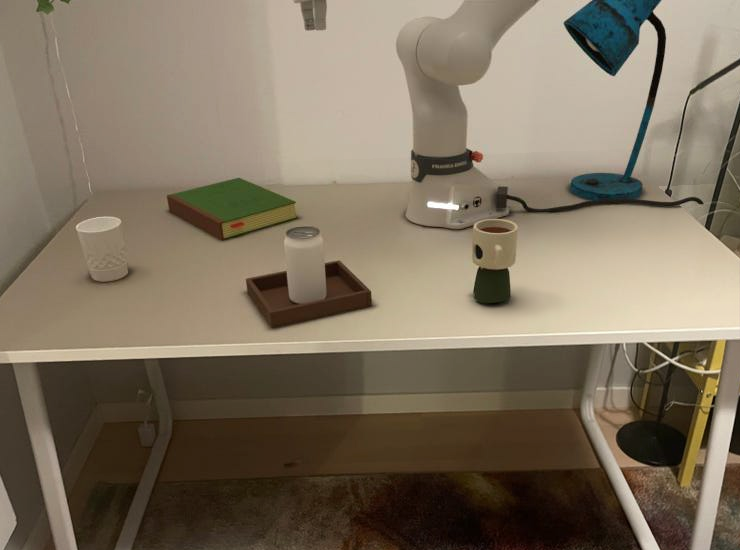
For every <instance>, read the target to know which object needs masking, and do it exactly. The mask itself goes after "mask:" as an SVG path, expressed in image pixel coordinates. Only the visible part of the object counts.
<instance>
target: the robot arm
mask: <svg viewBox="0 0 740 550" xmlns="http://www.w3.org/2000/svg"><path fill="white" fill-rule="evenodd" d="M293 2H294V4H299V5H300V12H301V16H302V19H303V27H304V30H305V31H306V32H307V31H309V32H310V31H325V30H326V29H327V10H328V4H327V0H293ZM539 2H540V0H463V2H462V3H461V4H460V5H459V7H458V8H457V10H456V11H455V12H454V13H453V14H451V15H450V16H447V17H445V18H440V17H435V16H430V15H429V16H427V15H426V16H421V17H417V18H414V19H412V20H409V21H407V22H406V23H405V24H404V25H403V26H402V27H401V28H400V30H399V31H398V33H397V37H396V42H395V50H396V55H397V57H398V59H399V61H400V63H401V65H402V68H403V71H404V75H405V80H406V86H407V89H408V94H409V100H410V105H411V113H412V149H411V151H410V177H411V185H410V194H409V200H408V203H407V208H406V211H405V218H406V219H407V220H408V221H409V222H411V223H414V224H417V225H421V226H426V227H434V228H435V227H437V228H446V229H452V230H462V229H465V228H468V227H473V226H474V224H475V223H477V222H478V221H482V220H486V219H500V218H503V217H505V216H509V214H510V207H509V206H508V201H512V202H513V201H514V202H516V203H519V204H521V206H522V208H523V209H524V210H525V211H526V212H529V213H554V212H561V211H569V210H575V209H579V208H582V207H587V206H591V205H601V204H639V205H648V206H659V207H675V206H681V205H683V204H686V203H689V202H695V203H697V204H698V205H700V206H701V205H705V202H704V201H703V200H702V199H701V198H699V197H696V196H689V197H685V198H683V199H679V200H675V201H657V200H649V199H640V198H635V199H600V200H586V201H583V202H578V203H574V204H569V205H561V206H554V207H548V208H533V207H529V206H528V204H527V202H526V201H525V200H524V199H523V198H520V197H517V196H514V195H510V194H508V191H509V187H508V186H497V184H496V182H495V181H494V180H493V179H492V178H491V177H489V176H488V175H486V174H485V173H484V172H482V171H481V170H480V169H479V168H477V167H476V166H474V162H476V163H482V161H483V160H484V154H483V153H482V152H479V151H477V150H474V151H473V150H471V149H469V148H467V145H468V144H467V142H468V118H469V117H468V116H469V115H468V109H467V106H466V103H465V101H464V100H463V97H462V95H461V91H460V88H459V87H460V86H467V85H473V84H475V83H477V82H479V81H480V80H481V79H482V78H483V77H484V76H485V75H486V73H487V72H488V70H489V68H490V65H491V62H492V58H493V57H492V55H493V53H492V52H493V50H494V49H495V47H496V46H497V44H498V43H499V42H500V40H501V39H502V37H503V36H504V35H506V33H507V32H508V31H509V29H511V28H512V27H513V26H514V25H515V24H516V23H517V22H518V21H519V20H520V19H521V18H522V17H524V15H526V14H527V13H528V12H529V11H530V10H531V9H532V8H533V7H534V6H536V4H537V3H539Z"/></svg>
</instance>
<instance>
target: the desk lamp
mask: <svg viewBox="0 0 740 550" xmlns="http://www.w3.org/2000/svg"><path fill="white" fill-rule="evenodd" d="M661 2H662V0H590V1H589V2H588V3H587V4H585V5H584V6H582V7H580V9H579V10H578V11H576V12H575V13H573V14H572V15H570V16H569V17H568V18H567V19H565V21H563V26H564V28H565V30H566V32H567V33H568V35H569V36H570V37H571V38H572V40H573V41H574V42H575V44H576V45H577V46H578V47H579V48H580V49H581V50H582V51H583V53H585V54H586V56H587V57H588V58H589V59H591V60H592V61H593V63H594V64H596V65H597V66H598V67H599V68H600V69H601V70H602V71H604V72H605V73H606V74H608V75H609V76H611V77H616V75H617V74H618V72H619V71H620V70H621V69H622V67H623V66H624V64H626V62H627V60H628V59H629V58H630V56H631V55H632V53H633V52H634V51H635V50H636V48H637V47H638V46H639V44H640V32H641V27H642V25H643V24H644V23H645V22H646V21H648V22H649V23H650V24H651V25H652V26H653V28H654V29H655V32H656V35H657V37H656V38H657V44H656V45H657V46H656V54H655V55H656V56H655V62H654V68H653V74H652V77H651V82H650V87H649V90H648V95H647V100H646V104H645V107H644V110H643V115H642V117H641V121H640V125H639V127H638V130H637V135H636V137H635V141H634V144H633V147H632V150H631V153H630V156H629V159H628V162H627V165H626V167H625V170H624V173H623V174H620V173H614V172H613V173H612V172H591V173H584V174H580V175H576V176H575V177H573V178H572V179H571V181H570V186H569V191H570V192H571V194H573V195H574V196H577V197H578V198H582V199H584V200H587V201H591V200H600V199H639V198H640V197H641V195H642V194H643V182H642V181H641V180H640V179H637V178H636V177H633V176H632V175H633V172H634V169H635V167H636V164H637V161H638V157H639V155H640V152H641V149H642V145H643V143H644V140H645V136H646V133H647V130H648V126H649V124H650V120H651V116H652V114H653V110H654V107H655V104H656V103H655V102H656V98H657V95H658V90H659V85H660V82H661V77H662V73H663V67H664V61H665V55H666V45H667V33H666V28H665V26H664V24H663V22H662V21H661V19H660V18H659V17H658V16H657V15H656V14H655V13H654V10H656V8H657V7H658V6H659V4H660V3H661Z"/></svg>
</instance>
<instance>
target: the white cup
mask: <svg viewBox="0 0 740 550" xmlns="http://www.w3.org/2000/svg"><path fill="white" fill-rule="evenodd" d="M75 230H76V233H77V236H78V240H79V244H80V246H81V250H82V253H83V255H84V259H85V263H86V264H87V266H88V271H89V274H90V277H91V279H92V280H94V281H95V282H100V283H101V282H103V283H105V282H113V281H114V282H115V281H117V280H120V279H122V278H125V277H126V276H127V275H129V267H128V266H129V265H128V260H127V259H128V255H127V249H126V242H125V236H124V230H123V224H122V220H121V219H120V218H118V217H115V216H98V217H92V218H88V219H85V220H82V221H81V222H79V223H78V224H76V226H75Z"/></svg>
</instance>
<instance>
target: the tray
mask: <svg viewBox="0 0 740 550" xmlns="http://www.w3.org/2000/svg"><path fill="white" fill-rule="evenodd" d="M325 276H326V297H325V299H322V300H318V301H313V302H308V303H304V304H296V303H294V302H292V301H291V300H290V298H289V290H288V280H287V270H283V271H278V272H273V273H268V274H263V275H258V276H252V277H247V278H245V284H246V285H245V286H246V293H247V295H248V296H249V298H250V299H251V301H252V302H253V303H254V305H255V306H256V308H257V309H258V311H259V312H260V313H261V315H262V317H263V318H264V320H265V321H266V323H267V324H268V326H269V327H270V329H274V328H275V329H276V328H280V327H284V326H289V325H293V324H297V323H302V322H307V321H311V320H316V319H320V318H324V317H328V316H333V315H339V314H343V313H347V312H351V311H356V310H361V309H365V308H368V307H372V306H373V303H372V299H373V298H372V290H371V289H370V288H369V287H368V286H367V285H366V284H364V282H363V281H361V280H360V279H359V278H358V277H357V275H355V274H354V272H352V271H351V270H350V269H349V268H348V267H347V266H346V264H344V263H343V262H342V261H341V260H334V261H329V262H328V261H327V262H325Z"/></svg>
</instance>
